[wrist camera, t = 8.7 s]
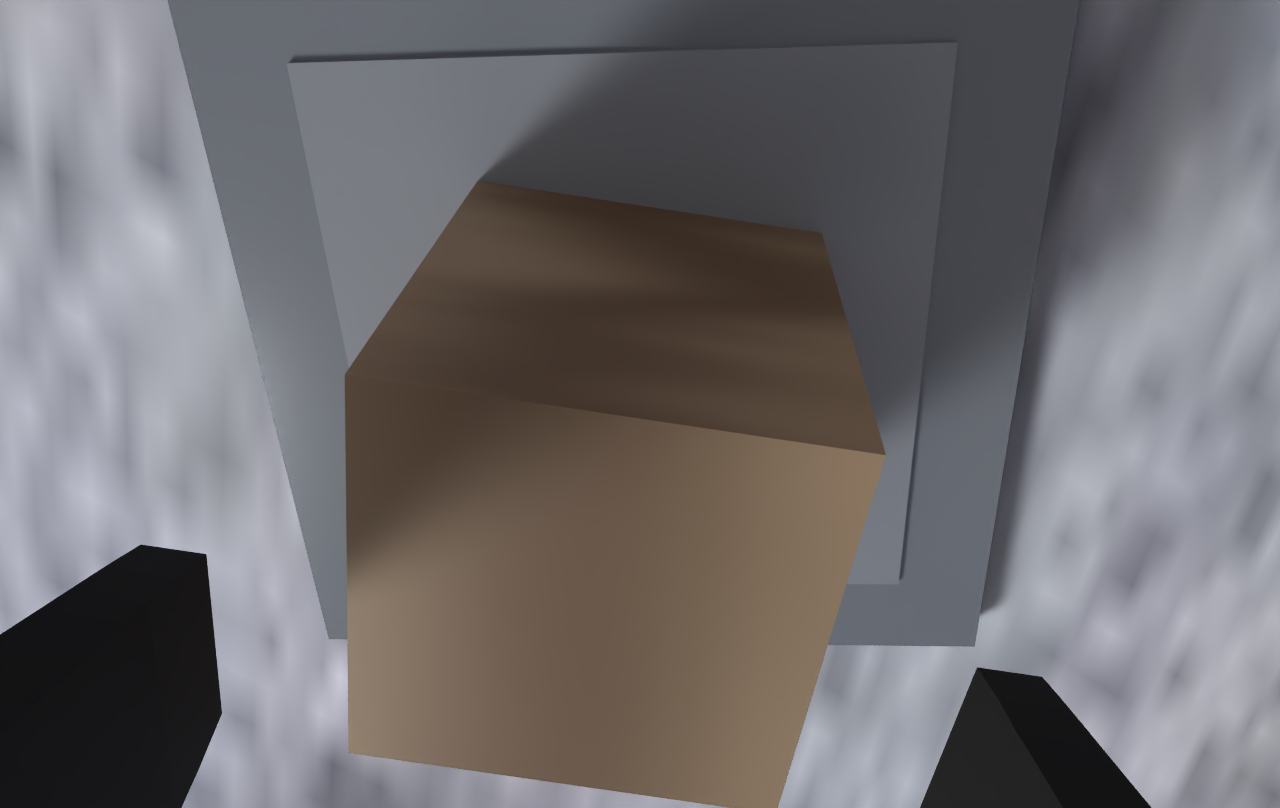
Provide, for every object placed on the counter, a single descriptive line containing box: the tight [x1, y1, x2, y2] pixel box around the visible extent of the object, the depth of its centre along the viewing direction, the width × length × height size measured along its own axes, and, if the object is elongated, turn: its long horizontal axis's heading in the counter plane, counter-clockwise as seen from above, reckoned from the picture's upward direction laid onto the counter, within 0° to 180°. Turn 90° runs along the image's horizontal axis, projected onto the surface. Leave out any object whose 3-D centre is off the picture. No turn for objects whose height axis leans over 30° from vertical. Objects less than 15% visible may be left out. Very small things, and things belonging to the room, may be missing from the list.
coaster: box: [168, 0, 1080, 646], centre depth 16 cm, size 12×12×1 cm
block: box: [345, 181, 886, 808], centre depth 13 cm, size 5×5×6 cm
